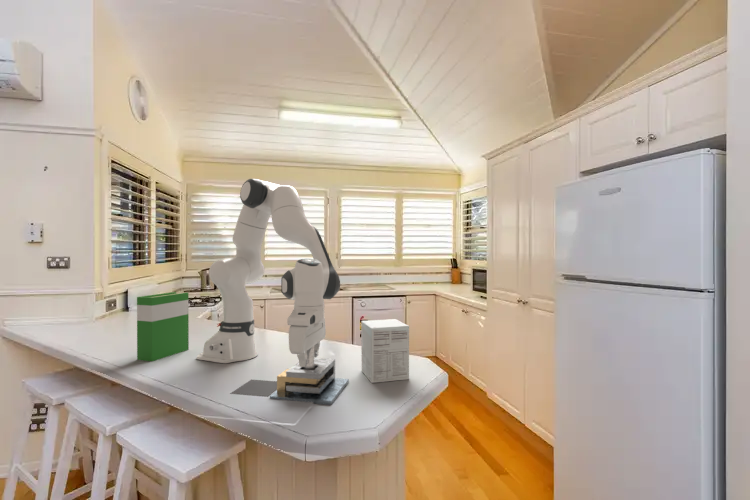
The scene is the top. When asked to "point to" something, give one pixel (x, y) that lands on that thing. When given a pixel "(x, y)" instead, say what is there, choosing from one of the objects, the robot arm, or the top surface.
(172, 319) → the hardback book
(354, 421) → the top surface
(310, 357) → the pin
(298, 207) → the robot arm
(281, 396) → the grey layered square block
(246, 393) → the mat
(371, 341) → the supplement box
